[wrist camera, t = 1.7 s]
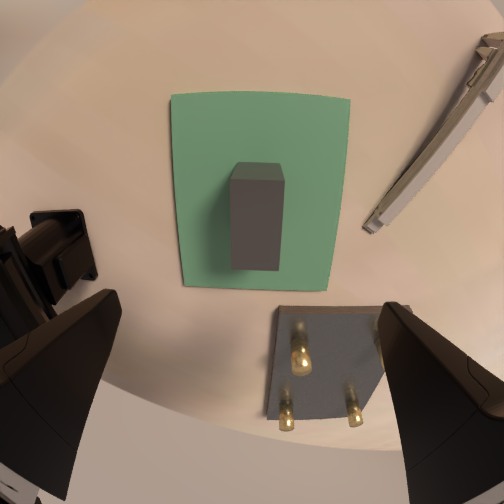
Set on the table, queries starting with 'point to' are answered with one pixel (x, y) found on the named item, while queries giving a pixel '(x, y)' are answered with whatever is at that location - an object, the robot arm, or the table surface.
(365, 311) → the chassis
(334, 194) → the board
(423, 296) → the table surface
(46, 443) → the robot arm
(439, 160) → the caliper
